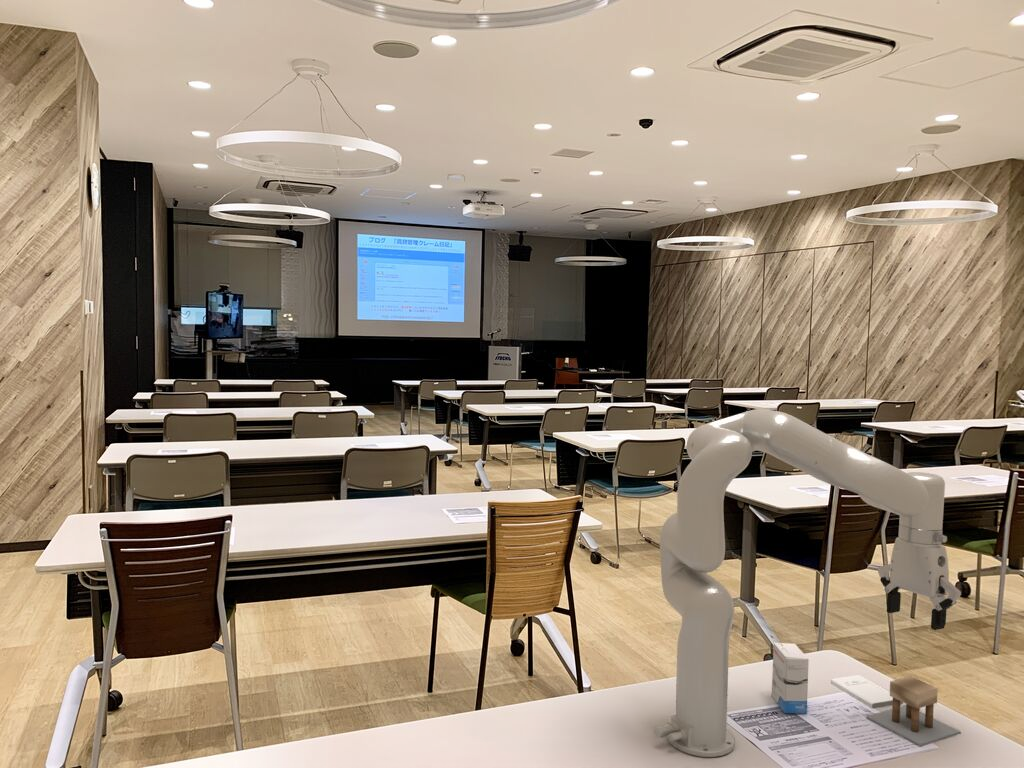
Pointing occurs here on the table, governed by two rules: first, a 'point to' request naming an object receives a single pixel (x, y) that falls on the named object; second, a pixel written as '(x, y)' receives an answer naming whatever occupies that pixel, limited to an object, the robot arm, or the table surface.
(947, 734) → the mat
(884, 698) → the external hard drive
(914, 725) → the stool
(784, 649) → the ink box
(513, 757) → the table surface
